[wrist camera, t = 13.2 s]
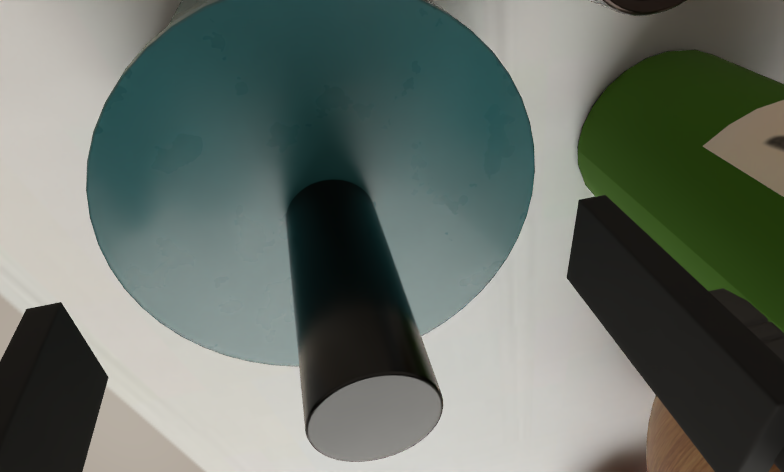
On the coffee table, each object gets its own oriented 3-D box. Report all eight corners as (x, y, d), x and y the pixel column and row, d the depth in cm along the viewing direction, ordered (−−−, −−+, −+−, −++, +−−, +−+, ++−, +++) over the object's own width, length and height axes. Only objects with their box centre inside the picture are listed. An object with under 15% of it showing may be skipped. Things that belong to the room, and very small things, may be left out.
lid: (102, 338, 19) (14, 619, 12) (85, -99, 12) (-158, -43, 5) (448, 348, 23) (533, 557, 16) (587, 34, 16) (843, 165, 9)
